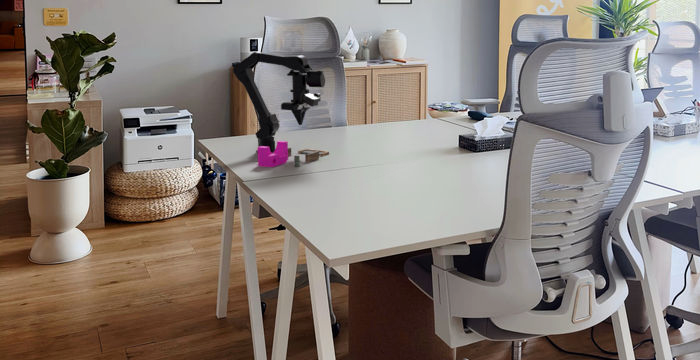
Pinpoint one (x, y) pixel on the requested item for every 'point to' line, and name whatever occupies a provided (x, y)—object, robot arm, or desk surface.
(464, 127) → the desk surface
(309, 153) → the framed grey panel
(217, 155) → the desk surface
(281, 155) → the magenta curved bracket
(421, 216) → the desk surface
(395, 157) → the desk surface
